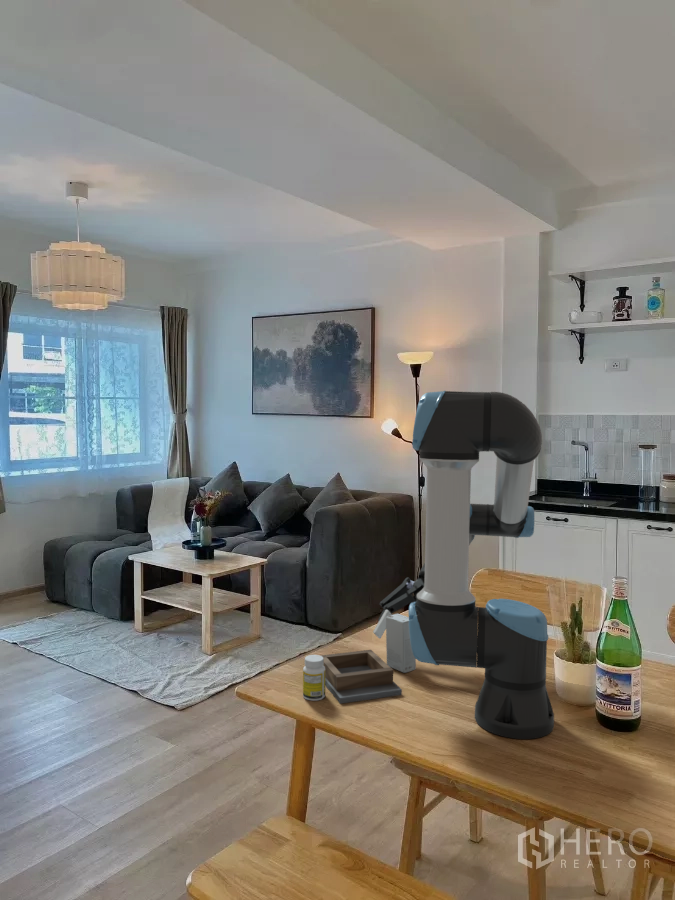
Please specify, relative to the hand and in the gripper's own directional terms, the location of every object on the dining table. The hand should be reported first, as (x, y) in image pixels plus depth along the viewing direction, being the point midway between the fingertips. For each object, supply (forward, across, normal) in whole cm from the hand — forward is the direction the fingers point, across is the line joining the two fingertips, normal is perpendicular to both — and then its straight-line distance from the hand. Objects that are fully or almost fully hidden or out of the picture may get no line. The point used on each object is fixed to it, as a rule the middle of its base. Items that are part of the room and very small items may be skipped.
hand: (397, 642), depth 164 cm
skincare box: (+4, 0, -5) cm, 6 cm away
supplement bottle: (+22, +2, +13) cm, 26 cm away
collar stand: (+13, +2, +5) cm, 14 cm away
